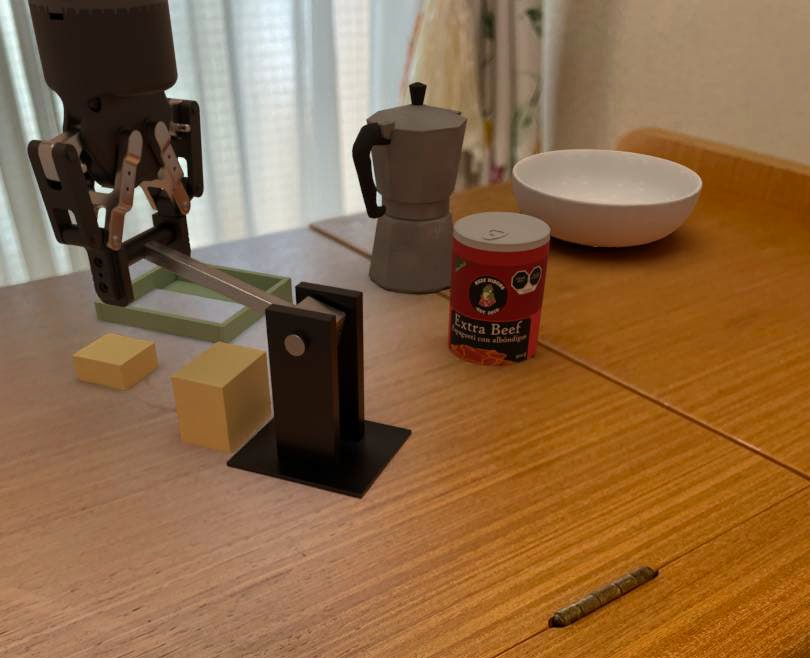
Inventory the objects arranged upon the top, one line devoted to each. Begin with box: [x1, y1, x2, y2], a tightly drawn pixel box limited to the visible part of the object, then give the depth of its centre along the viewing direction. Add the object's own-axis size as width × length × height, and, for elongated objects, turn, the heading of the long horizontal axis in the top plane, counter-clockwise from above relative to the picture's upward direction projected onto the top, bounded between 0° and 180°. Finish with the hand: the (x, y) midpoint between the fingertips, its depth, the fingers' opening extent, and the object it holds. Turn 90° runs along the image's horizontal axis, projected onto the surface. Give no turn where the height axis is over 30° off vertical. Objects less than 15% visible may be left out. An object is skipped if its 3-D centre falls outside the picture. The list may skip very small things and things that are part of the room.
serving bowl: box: [511, 148, 703, 248], centre depth 99 cm, size 21×21×7 cm
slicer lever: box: [121, 222, 346, 346], centre depth 56 cm, size 15×6×2 cm, turn 68°
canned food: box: [447, 211, 551, 367], centre depth 72 cm, size 8×8×11 cm
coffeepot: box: [351, 81, 468, 294], centre depth 83 cm, size 15×9×18 cm, turn 142°
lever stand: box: [226, 280, 413, 500], centre depth 58 cm, size 10×9×12 cm
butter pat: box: [72, 332, 160, 391], centre depth 69 cm, size 4×4×3 cm
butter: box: [170, 342, 273, 454], centre depth 62 cm, size 4×6×6 cm, turn 158°
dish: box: [93, 262, 294, 344], centre depth 80 cm, size 13×12×2 cm
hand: (148, 285), depth 58 cm, fingers closed on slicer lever, 6 cm apart
